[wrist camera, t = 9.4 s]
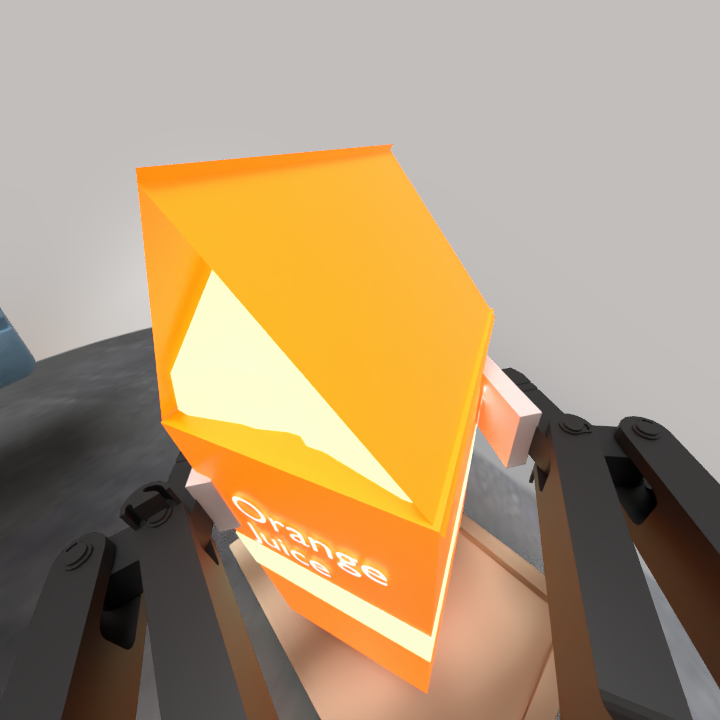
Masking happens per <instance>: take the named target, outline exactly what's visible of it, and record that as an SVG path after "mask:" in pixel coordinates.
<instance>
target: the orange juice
mask: <svg viewBox="0 0 720 720" xmlns="http://www.w3.org/2000/svg"><path fill="white" fill-rule="evenodd" d="M391 147H392V144H390V145H380V146H370V147H358V148H347V149H337V150H326V151H315V152H304V153H293V154H283V155H271V156H261V157H250V158H240V159H228V160H217V161H207V162H196V163H185V164H174V165H163V166H153V167H142V168H136V173H137V183H138V192H139V202H140V211H141V221H142V230H143V240H144V250H145V260H146V269H147V278H148V288H149V298H150V307H151V317H152V327H153V337H154V347H155V356H156V366H157V376H158V385H159V395H160V405H161V414H162V422H161V423H162V425H163V426H164V428H165V429H166V431H167V432H168V433H169V435H170V436H171V438H172V439H173V441H174V442H175V443H176V445H177V446H178V448H179V449H180V451H181V452H182V453H183V455H184V456H185V458H186V459H187V461H188V462H189V463H190V465H191V466H192V468H193V469H194V471H195V472H198V473H200V474H202V475H204V476H206V477H208V478H210V479H212V481H213V482H214V484H215V485H216V487H217V488H218V490H219V491H220V493H221V494H222V496H223V497H224V499H225V500H226V502H227V503H228V505H229V506H230V507H231V509H232V510H233V512H234V513H235V515H236V516H237V518H238V519H239V521H240V522H241V524H242V527H239V528H235V529H236V530H237V531H236V533H237V535H238V536H239V538H240V539H241V540H242V542H243V543H244V545H245V546H246V547H247V549H248V550H249V552H250V553H251V554H252V556H253V557H254V559H255V560H256V561H257V562H258V563H260V565H261V566H262V568H263V569H264V570H265V572H266V573H267V575H268V576H269V578H270V579H271V580H272V582H273V583H274V585H275V586H276V588H277V589H278V590H279V592H280V593H281V595H282V596H283V598H284V599H285V600H286V602H287V603H288V605H289V606H290V608H291V609H292V610H294V611H296V612H297V613H299V614H300V615H302V616H304V617H305V618H307V619H308V620H310V621H312V622H313V623H315V624H316V625H318V626H320V627H321V628H323V629H324V630H326V631H328V632H329V633H331V634H332V635H334V636H335V637H337V638H339V639H340V640H342V641H343V642H345V643H347V644H348V645H350V646H351V647H353V648H355V649H356V650H358V651H359V652H361V653H363V654H364V655H366V656H367V657H369V658H370V659H372V660H374V661H375V662H377V663H378V664H380V665H382V666H383V667H385V668H386V669H388V670H390V671H391V672H393V673H394V674H396V675H398V676H399V677H401V678H402V679H404V680H405V681H407V682H409V683H410V684H412V685H413V686H415V687H417V688H418V689H420V690H421V691H423V692H425V693H426V694H427V691H428V686H429V681H430V676H431V671H432V666H433V661H434V656H435V651H436V645H437V640H438V635H439V630H440V625H441V620H442V615H443V610H444V604H445V599H446V594H447V589H448V584H449V579H450V574H451V569H452V564H453V558H454V553H455V548H456V543H457V538H458V533H459V528H460V523H461V517H462V512H463V506H464V499H465V493H466V486H467V480H468V473H469V469H470V463H471V458H472V452H473V446H474V439H475V433H476V427H477V425H478V422H477V424H476V422H475V421H476V414H477V408H478V401H479V395H480V388H481V381H482V375H483V370H484V365H485V361H486V356H487V350H488V345H489V341H490V336H491V332H492V327H493V323H494V319H495V316H494V315H493V309H489V307H488V305H487V304H486V302H485V301H484V299H483V297H482V296H481V294H480V293H479V291H478V289H477V288H476V286H475V285H474V283H473V282H472V280H471V278H470V277H469V275H468V273H467V272H466V270H465V269H464V267H463V265H462V264H461V262H460V261H459V259H458V257H457V256H456V254H455V253H454V251H453V250H452V248H451V246H450V245H449V243H448V242H447V240H446V239H445V237H444V235H443V234H442V232H441V230H440V229H439V227H438V226H437V224H436V222H435V221H434V219H433V218H432V216H431V215H430V213H429V211H428V210H427V208H426V207H425V205H424V203H423V202H422V200H421V199H420V197H419V195H418V194H417V192H416V191H415V189H414V187H413V186H412V184H411V183H410V181H409V179H408V178H407V177H406V175H405V173H404V172H403V170H402V168H401V167H400V165H399V164H398V162H397V160H396V159H395V157H394V156H393V154H392V153H391V151H390V149H391ZM482 397H483V396H482ZM481 401H482V400H481ZM481 403H482V402H481ZM480 406H481V405H480ZM479 412H480V411H479ZM479 414H480V413H479ZM478 416H479V415H478ZM478 418H479V417H478ZM478 420H479V419H478Z"/></svg>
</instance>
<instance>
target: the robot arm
mask: <svg viewBox="0 0 720 720" xmlns="http://www.w3.org/2000/svg"><path fill="white" fill-rule="evenodd" d="M35 365H36V363H35V360H34V357H33V355H32V354H31V353H30V351H29V349H28V348H27V346H26V345H25V344H24V342H23V341H22V339H21V338H20V336H19V335H18V333H17V332H16V330H15V329H14V328H13V326H12V324H11V323H10V321H9V320H8V319H7V317H6V316H5V314H4V313H3V312H2V310H1V308H0V389H1V388H3V387H5V386H7V385H10V384H12V383H14V382H17V381H19V380H21V379H23V378H25V377H27V376H29V375H30V374H31V373H32V372H33V370H34V369H35ZM482 396H483V397H482ZM481 400H482V401H481ZM481 402H482V403H481ZM480 405H481V406H480ZM479 411H480V412H479ZM479 413H480V414H479ZM478 415H479V416H478ZM478 417H479V418H478ZM478 419H479V420H478ZM475 422H476V424H477V422H478V427H479V428H480V430H481V431H482V433H483V434H484V436H485V437H486V439H487V440H488V441H489V443H490V445H491V446H492V448H493V449H494V451H495V452H496V454H497V455H498V457H499V458H500V460H501V461H502V463H503V464H504V466H505V467H506V468H510V467H515V466H519V465H523V464H526V460H527V457H528V454H529V455H530V456H531V458H532V459H533V460H534V461H535V464H534V467H533V470H532V473H531V476H530V480H529V482H530V483H533V480H535V489H536V498H537V507H538V516H539V525H540V534H541V543H542V553H543V562H544V571H545V580H546V589H547V598H548V607H549V616H550V625H551V634H552V643H553V652H554V661H555V670H556V679H557V688H558V697H559V706H560V718H561V720H693V719H692V716H691V713H690V710H689V707H688V704H687V701H686V698H685V695H684V692H683V689H682V686H681V683H680V680H679V677H678V674H677V671H676V668H675V665H674V662H673V659H672V657H671V654H670V651H669V648H668V645H667V642H666V639H665V636H664V633H663V630H662V627H661V624H660V621H659V618H658V615H657V612H656V609H655V606H654V603H653V600H652V597H651V594H650V591H649V588H648V585H647V582H646V579H645V576H644V573H643V570H642V567H641V564H640V561H639V558H638V555H637V553H636V549H635V547H634V544H635V546H636V548H637V549H638V551H639V553H640V554H641V556H642V558H643V560H644V561H645V563H646V565H647V566H648V568H649V570H650V571H651V573H652V575H653V576H654V578H655V580H656V582H657V583H658V585H659V587H660V588H661V590H662V592H663V593H664V595H665V597H666V599H667V600H668V602H669V604H670V605H671V607H672V609H673V610H674V612H675V614H676V615H677V617H678V619H679V621H680V622H681V624H682V626H683V627H684V629H685V631H686V632H687V634H688V636H689V638H690V639H691V641H692V643H693V644H694V646H695V648H696V649H697V651H698V653H699V654H700V656H701V658H702V660H703V661H704V663H705V665H706V666H707V668H708V670H709V671H710V673H711V675H712V677H713V678H714V680H715V682H716V683H717V685H718V687H719V688H720V484H719V483H718V482H717V481H716V480H715V479H714V478H713V477H712V476H711V475H710V474H709V473H708V471H707V470H705V468H703V466H702V465H701V464H700V463H699V462H698V461H697V460H696V459H695V458H694V457H693V456H692V455H691V454H690V453H689V452H688V450H687V449H686V448H685V447H684V446H683V445H682V444H681V443H680V442H679V441H678V440H677V439H676V438H675V437H674V436H673V435H672V434H671V432H669V431H668V430H667V429H666V428H665V427H663V426H662V425H660V424H658V423H656V422H654V421H652V420H649V419H646V418H643V417H635V416H632V417H625V418H624V419H622V420H621V421H620V423H619V425H618V427H610V426H594V425H591V424H590V423H589V422H587V421H586V420H585V419H583V418H581V417H578V416H575V415H571V414H564V413H563V412H562V411H561V410H560V409H559V408H558V407H557V406H556V405H555V404H554V403H552V401H550V400H549V399H548V398H547V397H546V396H545V395H544V394H543V393H542V392H541V391H540V390H538V389H537V387H536V386H535V385H534V384H533V383H531V382H530V380H529V379H528V378H526V377H525V376H524V375H523V374H522V373H520V372H518V371H516V370H514V369H512V368H507V369H502V370H501V369H500V368H499V367H498V366H497V365H496V364H495V363H494V362H493V361H492V360H491V359H490V358H489V357H488V356H486V361H485V365H484V370H483V375H482V381H481V388H480V395H479V401H478V408H477V414H476V421H475ZM119 517H120V518H122V519H123V520H124V521H125V522H126V523H127V524H128V525H129V526H130V527H129V528H127V529H125V530H123V531H121V532H119V533H117V534H115V535H113V536H110V537H108V538H107V537H106V536H105V535H103V534H102V533H97V532H93V533H90V534H86V535H84V536H82V537H80V538H79V539H77V540H75V541H74V542H73V543H71V544H70V545H69V546H68V547H66V548H65V549H64V550H63V551H62V553H61V554H60V555H59V556H58V557H57V558H56V560H55V562H54V563H53V565H52V567H51V569H50V572H49V574H48V577H47V579H46V582H45V585H44V587H43V590H42V593H41V595H40V598H39V601H38V603H37V606H36V609H35V611H34V614H33V617H32V619H31V622H30V624H29V627H28V630H27V632H26V635H25V638H24V640H23V643H22V646H21V648H20V651H19V654H18V656H17V659H16V662H15V664H14V667H13V669H12V672H11V675H10V677H9V680H8V683H7V685H6V688H5V691H4V693H3V696H2V699H1V701H0V720H136V711H137V703H138V694H139V686H140V677H141V668H142V660H143V651H144V642H145V634H146V625H147V620H148V627H149V634H150V642H151V649H152V656H153V663H154V671H155V678H156V685H157V693H158V700H159V707H160V714H161V720H279V719H278V716H277V714H276V711H275V708H274V705H273V703H272V700H271V697H270V694H269V691H268V689H267V686H266V683H265V680H264V678H263V675H262V672H261V669H260V666H259V664H258V661H257V658H256V655H255V653H254V650H253V647H252V644H251V641H250V639H249V636H248V633H247V630H246V628H245V625H244V622H243V619H242V616H241V614H240V611H239V608H238V605H237V603H236V600H235V597H234V594H233V592H232V589H231V586H230V583H229V580H228V578H227V575H226V572H225V569H224V567H223V564H222V561H221V558H220V555H219V553H218V550H217V547H216V544H215V542H214V540H213V539H212V537H211V532H212V528H213V524H214V525H215V526H216V528H217V529H218V530H219V531H220V532H221V531H225V530H230V529H234V528H239V527H242V524H241V522H240V521H239V519H238V518H237V516H236V515H235V513H234V512H233V510H232V509H231V507H230V506H229V505H228V503H227V502H226V500H225V499H224V497H223V496H222V494H221V493H220V491H219V490H218V488H217V487H216V485H215V484H214V482H213V481H212V479H210V478H208V477H206V476H204V475H202V474H200V473H198V472H195V471H194V469H193V468H192V466H191V465H190V463H189V462H188V461H187V459H186V458H185V456H184V455H183V453H182V452H181V451H180V455H178V458H177V460H176V464H175V465H174V467H173V469H172V472H171V474H170V477H169V479H168V481H167V483H166V482H162V481H157V482H151V483H149V484H147V485H144V486H142V487H141V488H139V489H138V490H136V491H135V492H134V493H133V494H132V495H131V496H130V497H129V498H128V499H127V500H126V501H125V503H124V505H123V506H122V508H121V511H120V516H119ZM633 543H634V544H633Z"/></svg>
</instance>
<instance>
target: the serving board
mask: <svg viewBox="0 0 720 720" xmlns="http://www.w3.org/2000/svg"><path fill="white" fill-rule="evenodd" d="M229 547H230V548H231V550H232V552H233V554H234V556H235V558H236V560H237V562H238V564H239V565H240V567H241V569H242V571H243V573H244V575H245V577H246V579H247V581H248V582H249V584H250V586H251V588H252V590H253V592H254V594H255V596H256V598H257V599H258V601H259V603H260V605H261V607H262V609H263V611H264V613H265V615H266V616H267V618H268V620H269V622H270V624H271V626H272V628H273V630H274V632H275V633H276V635H277V637H278V639H279V641H280V643H281V645H282V647H283V648H284V650H285V652H286V654H287V656H288V658H289V660H290V662H291V664H292V665H293V667H294V669H295V671H296V673H297V675H298V677H299V679H300V681H301V682H302V684H303V686H304V688H305V690H306V692H307V694H308V696H309V698H310V699H311V701H312V703H313V705H314V707H315V709H316V711H317V713H318V715H319V716H320V718H321V720H556V717H557V714H558V711H559V708H560V706H559V697H558V688H557V679H556V670H555V661H554V652H553V643H552V634H551V625H550V616H549V607H548V598H547V589H546V580H545V575H544V574H543V573H541V572H540V571H539V570H537V569H536V568H535V567H533V566H532V565H531V564H529V563H528V562H527V561H526V560H524V559H523V558H522V557H520V556H519V555H518V554H516V553H515V552H514V551H512V550H511V549H510V548H508V547H507V546H506V545H504V544H503V543H502V542H500V541H499V540H498V539H497V538H495V537H494V536H493V535H491V534H490V533H489V532H487V531H486V530H485V529H483V528H482V527H481V526H479V525H478V524H477V523H475V522H474V521H473V520H471V519H470V518H469V517H468V516H466V515H465V514H464V513H462V517H461V523H460V528H459V533H458V538H457V543H456V548H455V553H454V558H453V564H452V569H451V574H450V579H449V584H448V589H447V594H446V599H445V604H444V610H443V615H442V620H441V625H440V630H439V635H438V640H437V645H436V651H435V656H434V661H433V666H432V671H431V676H430V681H429V686H428V691H427V694H426V693H425V692H423V691H421V690H420V689H418V688H417V687H415V686H413V685H412V684H410V683H409V682H407V681H405V680H404V679H402V678H401V677H399V676H398V675H396V674H394V673H393V672H391V671H390V670H388V669H386V668H385V667H383V666H382V665H380V664H378V663H377V662H375V661H374V660H372V659H370V658H369V657H367V656H366V655H364V654H363V653H361V652H359V651H358V650H356V649H355V648H353V647H351V646H350V645H348V644H347V643H345V642H343V641H342V640H340V639H339V638H337V637H335V636H334V635H332V634H331V633H329V632H328V631H326V630H324V629H323V628H321V627H320V626H318V625H316V624H315V623H313V622H312V621H310V620H308V619H307V618H305V617H304V616H302V615H300V614H299V613H297V612H296V611H294V610H292V609H291V608H290V606H289V605H288V603H287V602H286V600H285V599H284V598H283V596H282V595H281V593H280V592H279V590H278V589H277V588H276V586H275V585H274V583H273V582H272V580H271V579H270V578H269V576H268V575H267V573H266V572H265V570H264V569H263V568H262V566H261V565H260V563H258V562H257V561H256V560H255V559H254V557H253V556H252V554H251V553H250V552H249V550H248V549H247V547H246V546H245V545H244V543H243V542H242V540H241V539H240V538H238V539H237V540H236V541H235V542H233V543H232V544H231V545H230V546H229Z"/></svg>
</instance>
